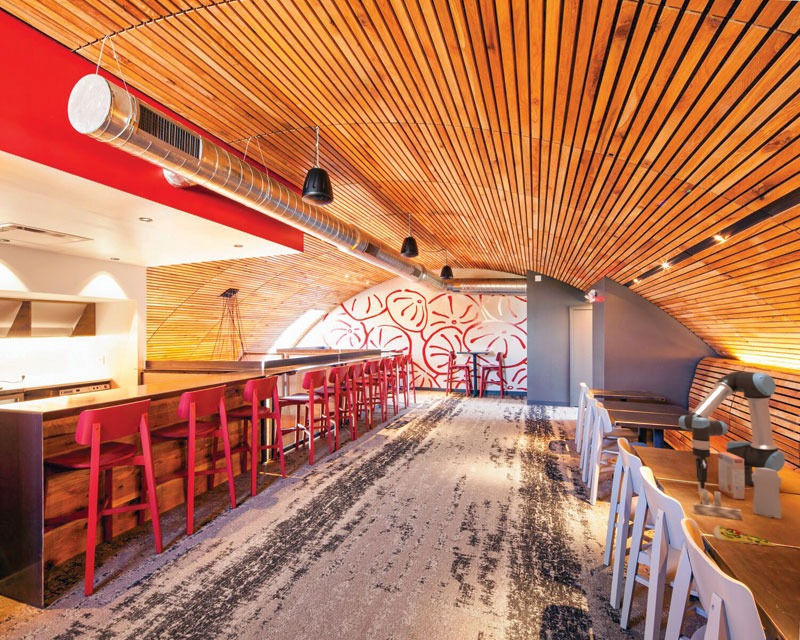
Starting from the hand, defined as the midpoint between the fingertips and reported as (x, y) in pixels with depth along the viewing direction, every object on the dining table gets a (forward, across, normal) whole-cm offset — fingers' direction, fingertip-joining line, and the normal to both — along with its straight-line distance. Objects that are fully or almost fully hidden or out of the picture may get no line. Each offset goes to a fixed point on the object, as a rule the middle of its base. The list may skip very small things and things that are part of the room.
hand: (702, 494), depth 222 cm
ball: (-1, +9, 0) cm, 9 cm away
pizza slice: (+3, +50, +3) cm, 50 cm away
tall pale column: (+2, +15, +22) cm, 27 cm away
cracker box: (+2, -12, +16) cm, 20 cm away
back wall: (+2, +25, 0) cm, 25 cm away
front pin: (+1, +14, 0) cm, 14 cm away
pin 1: (+2, +16, -2) cm, 17 cm away
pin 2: (+2, +16, +2) cm, 17 cm away
